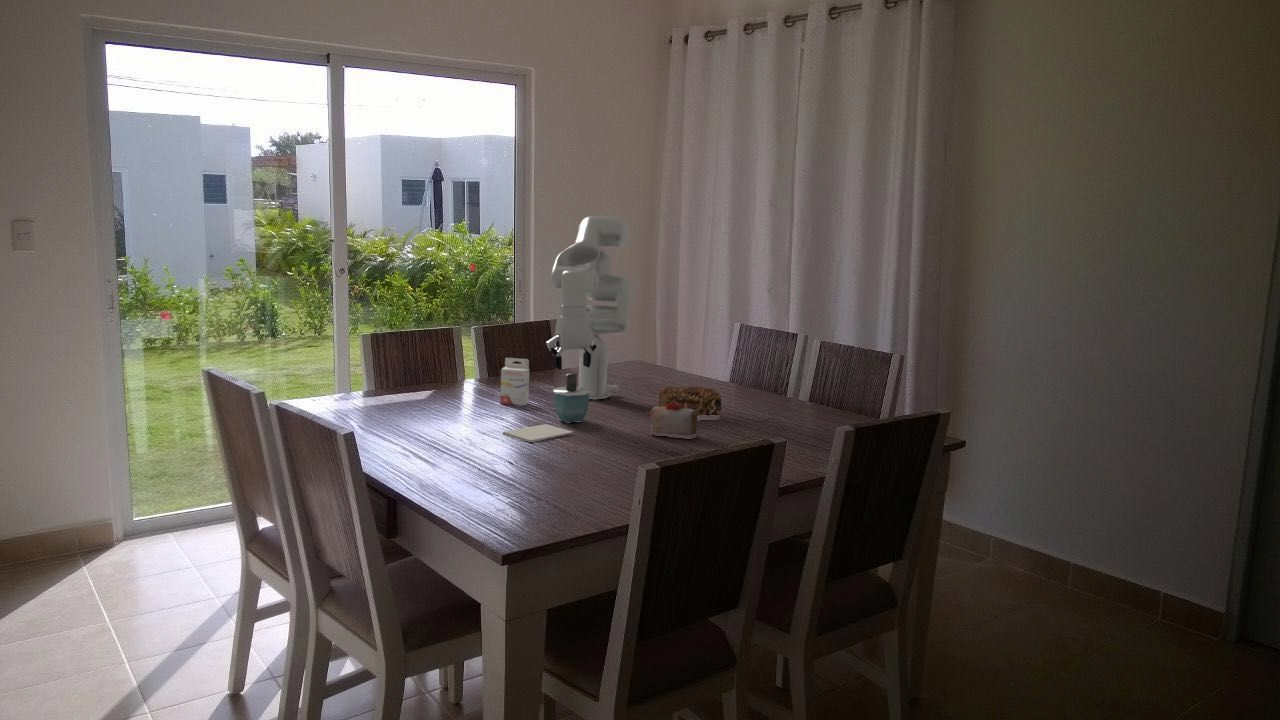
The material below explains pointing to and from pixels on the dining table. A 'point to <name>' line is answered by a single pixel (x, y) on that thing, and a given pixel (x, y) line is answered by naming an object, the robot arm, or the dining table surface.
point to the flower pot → (571, 407)
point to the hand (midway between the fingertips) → (572, 367)
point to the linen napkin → (536, 432)
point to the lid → (571, 387)
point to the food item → (674, 420)
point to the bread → (692, 399)
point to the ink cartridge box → (515, 382)
